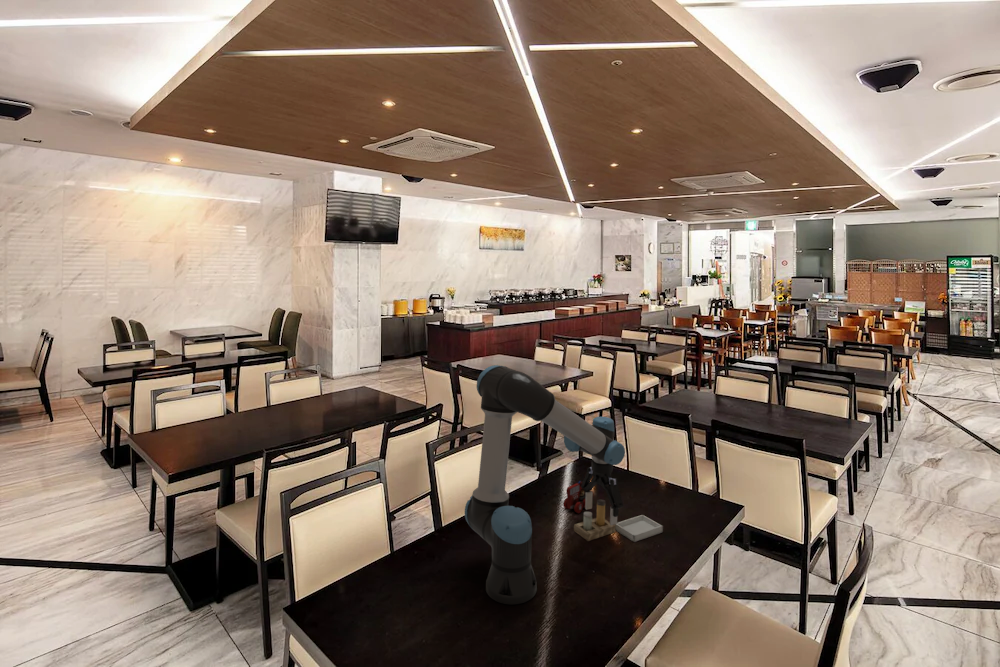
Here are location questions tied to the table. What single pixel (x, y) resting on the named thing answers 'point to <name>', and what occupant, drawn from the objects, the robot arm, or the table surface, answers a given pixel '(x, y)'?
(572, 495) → the toy fire truck
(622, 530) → the tray
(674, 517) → the table surface
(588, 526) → the fuse
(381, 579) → the table surface
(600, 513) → the cylinder
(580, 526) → the socket block
